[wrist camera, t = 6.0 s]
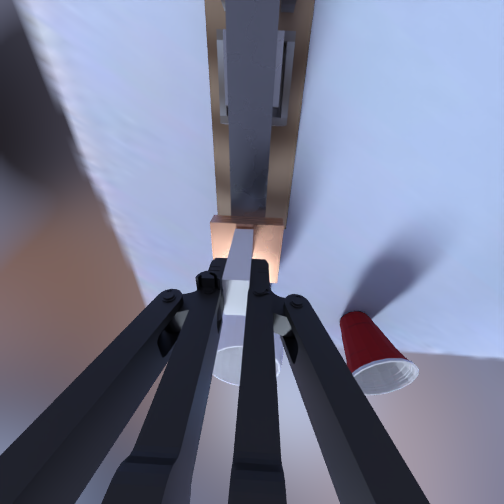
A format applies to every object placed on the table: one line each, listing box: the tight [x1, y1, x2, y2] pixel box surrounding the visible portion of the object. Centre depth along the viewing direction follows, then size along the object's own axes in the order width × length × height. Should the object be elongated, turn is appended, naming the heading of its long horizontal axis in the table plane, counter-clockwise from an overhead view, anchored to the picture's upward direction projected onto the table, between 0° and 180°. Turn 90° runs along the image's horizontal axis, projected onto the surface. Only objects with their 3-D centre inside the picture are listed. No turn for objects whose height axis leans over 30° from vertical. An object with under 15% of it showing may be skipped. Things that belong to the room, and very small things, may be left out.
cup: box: [213, 311, 283, 386], centre depth 33 cm, size 11×11×15 cm
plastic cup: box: [340, 311, 419, 395], centre depth 37 cm, size 11×11×12 cm
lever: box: [210, 0, 285, 283], centre depth 15 cm, size 23×6×5 cm, turn 178°
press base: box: [205, 0, 315, 229], centre depth 19 cm, size 26×10×15 cm, turn 178°
